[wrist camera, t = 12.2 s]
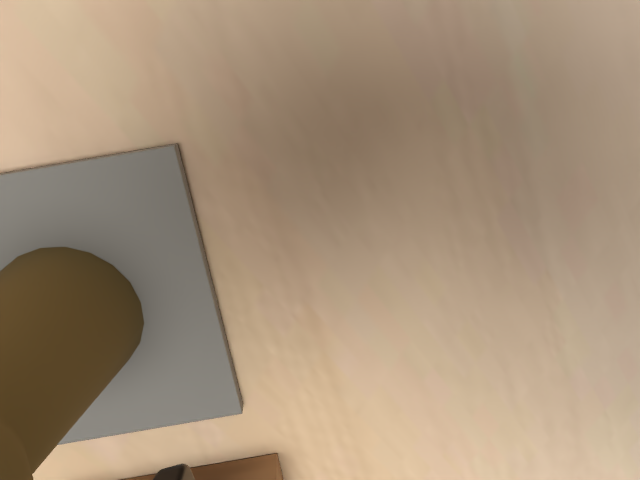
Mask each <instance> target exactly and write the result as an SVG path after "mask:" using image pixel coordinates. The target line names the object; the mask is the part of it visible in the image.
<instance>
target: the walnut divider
mask: <svg viewBox="0 0 640 480" xmlns="http://www.w3.org/2000/svg"><path fill="white" fill-rule="evenodd" d="M190 469H191V471H192V473H193V476H194V478H195V480H283V476H282V472H281V468H280V464H279V459H278V455H277V454H271V455H265V456H259V457H253V458H247V459H241V460H236V461H230V462H224V463H218V464H212V465H206V466H200V467H194V468H190ZM155 475H156V474H153V475H147V476H141V477H135V478H129V479H124V480H152V479H153V478H154V477H155Z"/></svg>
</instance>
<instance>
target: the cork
mask: <svg viewBox="0 0 640 480" xmlns="http://www.w3.org/2000/svg"><path fill="white" fill-rule="evenodd" d="M143 326H144V319H143V313H142V307H141V302H140V300H139V298H138V296H137V294H136V292H135V290H134V289H133V287H132V285H131V283H130V282H129V281H128V280H127V279H126V278H125V277H124V276H123V275H122V274H121V273H120V272H119V271H118V270H117V269H116V268H115V267H114V266H113V265H112V264H110V263H108V262H106V261H104V260H103V259H101V258H99V257H97V256H95V255H93V254H92V253H89V252H85V251H81V250H77V249H72V248H68V247H50V248H39V249H36V250H33V251H31V252H28V253H25V254H22V255H20V256H18V257H16V258H15V259H14V260H13V261H12V262H11V263H9V264H8V265H7V266H6V267H5V268H3V269H2V270H1V271H0V480H33V476H32V474H33V473H34V472H35V470H36V469H37V468H38V467H39V466H40V464H41V463H42V462H43V461H44V460H45V459H46V457H47V456H48V455H49V454H50V453H51V451H52V450H53V449H54V448H55V447H56V446H57V444H58V443H59V442H60V441H61V440H62V438H63V437H64V436H65V435H66V434H67V433H68V431H69V430H70V429H71V428H72V427H73V425H74V424H75V423H76V422H77V421H78V420H79V418H80V417H81V416H82V415H83V414H84V412H85V411H86V410H87V409H88V408H89V407H90V405H91V404H92V403H93V402H94V401H95V399H96V398H97V397H98V396H99V395H100V394H101V392H102V391H103V390H104V389H105V388H106V386H107V385H108V384H109V383H110V382H111V380H112V379H113V378H114V377H115V376H116V375H117V373H118V372H119V371H120V370H121V369H122V367H123V366H124V365H125V364H126V363H127V362H128V360H129V359H130V358H131V356H132V355H133V353H134V351H135V350H136V348H137V347H138V345H139V344H140V341H141V336H142V331H143Z"/></svg>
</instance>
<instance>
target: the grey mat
mask: <svg viewBox="0 0 640 480" xmlns="http://www.w3.org/2000/svg"><path fill="white" fill-rule="evenodd" d="M50 247H68V248H72V249H77V250H81V251H85V252H89V253H92V254H93V255H95V256H97V257H99V258H101V259H103V260H104V261H106V262H108V263H110V264H112V265H113V266H114V267H115V268H116V269H117V270H118V271H119V272H120V273H121V274H122V275H123V276H124V277H125V278H126V279H127V280H128V281H129V282H130V283H131V285H132V287H133V289H134V290H135V292H136V294H137V296H138V298H139V300H140V302H141V307H142V313H143V319H144V326H143V331H142V336H141V341H140V344H139V345H138V347H137V348H136V350H135V351H134V353H133V355H132V356H131V358H130V359H129V360H128V362H127V363H126V364H125V365H124V366H123V367H122V369H121V370H120V371H119V372H118V373H117V375H116V376H115V377H114V378H113V379H112V380H111V382H110V383H109V384H108V385H107V386H106V388H105V389H104V390H103V391H102V392H101V394H100V395H99V396H98V397H97V398H96V399H95V401H94V402H93V403H92V404H91V405H90V407H89V408H88V409H87V410H86V411H85V412H84V414H83V415H82V416H81V417H80V418H79V420H78V421H77V422H76V423H75V424H74V425H73V427H72V428H71V429H70V430H69V431H68V433H67V434H66V435H65V436H64V437H63V438H62V440H61V441H60V442H59V443H58V444H57V445H60V444H66V443H71V442H77V441H83V440H89V439H95V438H101V437H107V436H113V435H119V434H125V433H130V432H136V431H142V430H148V429H154V428H160V427H166V426H172V425H178V424H184V423H189V422H195V421H201V420H207V419H213V418H219V417H225V416H231V415H237V414H242V411H243V402H242V398H241V394H240V390H239V386H238V382H237V378H236V374H235V370H234V366H233V362H232V358H231V354H230V350H229V347H228V343H227V339H226V335H225V331H224V327H223V323H222V319H221V315H220V311H219V307H218V303H217V299H216V295H215V291H214V287H213V283H212V279H211V275H210V271H209V267H208V263H207V259H206V255H205V251H204V247H203V243H202V239H201V236H200V232H199V228H198V224H197V220H196V216H195V212H194V208H193V204H192V200H191V196H190V192H189V188H188V184H187V180H186V176H185V172H184V168H183V164H182V160H181V156H180V152H179V148H178V144H171V145H165V146H159V147H153V148H147V149H141V150H135V151H130V152H124V153H118V154H112V155H106V156H100V157H94V158H88V159H82V160H76V161H71V162H65V163H59V164H53V165H47V166H41V167H35V168H29V169H23V170H17V171H11V172H6V173H0V271H1V270H2V269H3V268H5V267H6V266H7V265H8V264H9V263H11V262H12V261H13V260H14V259H15V258H16V257H18V256H20V255H22V254H25V253H28V252H31V251H33V250H36V249H39V248H50Z"/></svg>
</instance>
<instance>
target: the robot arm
mask: <svg viewBox="0 0 640 480" xmlns="http://www.w3.org/2000/svg"><path fill="white" fill-rule="evenodd" d="M152 480H195V478H194V476H193V473H192V471H191V469H190V468H189V466H188V465H186V464H180V465H176V466H172V467H168V468H165V469H162V470H160V471H159V472H158V473H157V474H156V475H155V477H154V478H153V479H152Z"/></svg>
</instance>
